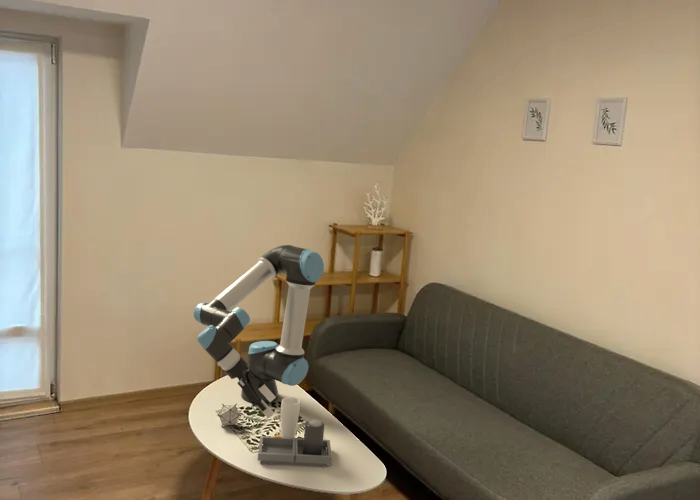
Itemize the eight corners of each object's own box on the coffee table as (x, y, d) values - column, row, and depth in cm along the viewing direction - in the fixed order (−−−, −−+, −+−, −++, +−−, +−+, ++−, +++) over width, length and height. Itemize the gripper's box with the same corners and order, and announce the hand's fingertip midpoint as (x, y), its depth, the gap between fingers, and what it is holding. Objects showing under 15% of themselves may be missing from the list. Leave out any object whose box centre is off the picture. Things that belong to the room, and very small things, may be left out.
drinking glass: (293, 445, 231) (297, 406, 228) (275, 442, 232) (278, 402, 229) (299, 437, 237) (302, 398, 234) (281, 434, 238) (284, 395, 236)
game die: (222, 434, 241) (208, 411, 241) (240, 421, 246) (227, 398, 247) (231, 432, 234) (217, 408, 234) (249, 419, 239) (236, 395, 239)
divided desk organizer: (259, 444, 229) (262, 410, 226) (328, 448, 231) (332, 415, 229) (257, 463, 216) (260, 427, 214) (330, 467, 218) (334, 432, 216)
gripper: (228, 358, 239) (265, 399, 243) (220, 384, 215) (261, 429, 219) (244, 345, 239) (281, 387, 243) (237, 370, 214) (278, 416, 218)
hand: (272, 407), depth 231 cm, fingers open, 13 cm apart
